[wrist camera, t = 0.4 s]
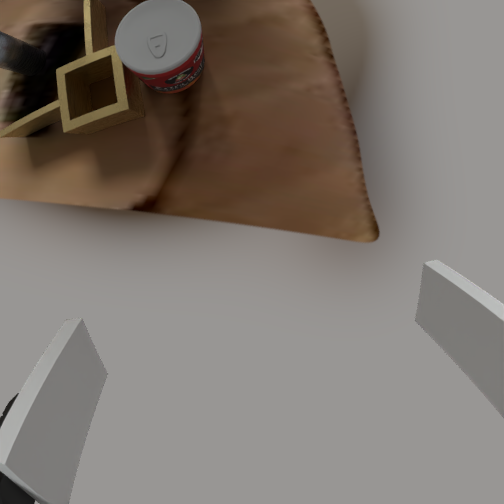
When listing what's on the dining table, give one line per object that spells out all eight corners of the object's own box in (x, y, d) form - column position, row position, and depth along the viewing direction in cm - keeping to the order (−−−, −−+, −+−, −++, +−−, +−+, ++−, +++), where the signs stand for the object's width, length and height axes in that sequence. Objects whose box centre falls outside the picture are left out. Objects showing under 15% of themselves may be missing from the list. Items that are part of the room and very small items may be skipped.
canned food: (157, 106, 31) (133, 89, 20) (131, 55, 28) (101, 24, 18) (216, 76, 30) (217, 46, 20) (188, 26, 28) (179, -16, 17)
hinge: (19, 50, 24) (-7, 39, 17) (129, -1, 25) (114, -25, 18) (29, 159, 30) (-1, 164, 23) (145, 115, 31) (128, 108, 24)
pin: (21, 56, 24) (-47, 34, 10) (48, 40, 25) (-17, 7, 10) (22, 85, 26) (-52, 71, 12) (49, 70, 26) (-22, 45, 12)
